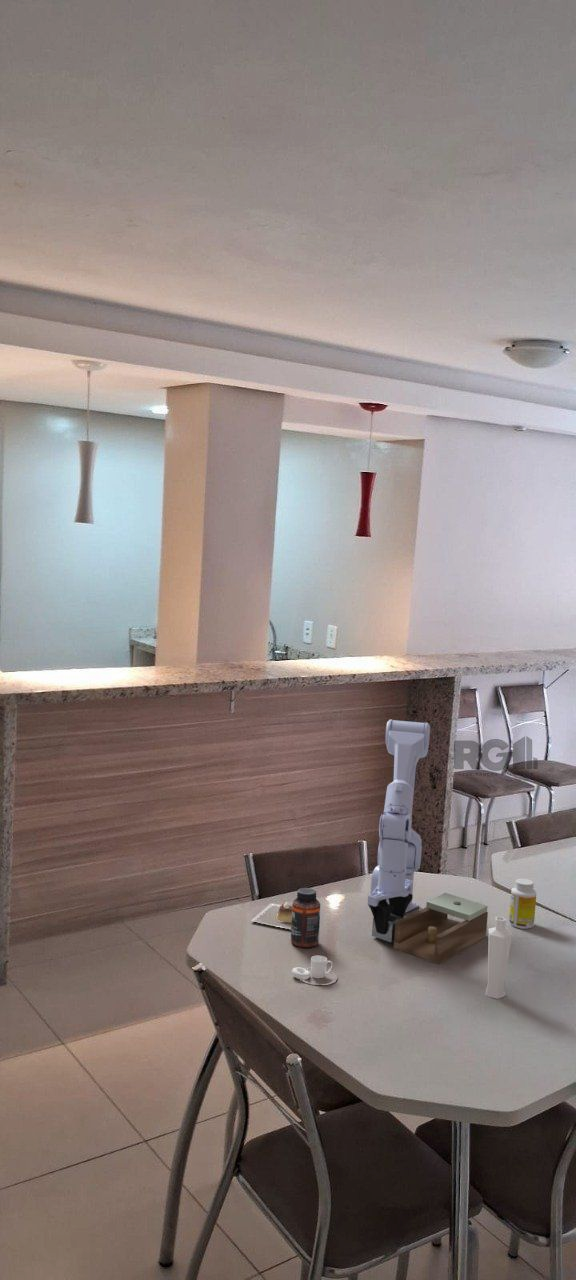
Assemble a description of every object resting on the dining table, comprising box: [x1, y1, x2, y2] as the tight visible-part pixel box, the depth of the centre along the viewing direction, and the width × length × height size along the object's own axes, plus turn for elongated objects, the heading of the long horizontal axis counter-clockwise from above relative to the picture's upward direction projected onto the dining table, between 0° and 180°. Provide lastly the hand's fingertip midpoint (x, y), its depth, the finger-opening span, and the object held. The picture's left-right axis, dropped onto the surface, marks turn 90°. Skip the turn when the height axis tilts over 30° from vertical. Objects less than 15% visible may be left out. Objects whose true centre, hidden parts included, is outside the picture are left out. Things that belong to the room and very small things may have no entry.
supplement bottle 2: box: [508, 878, 537, 930], centre depth 226 cm, size 6×6×10 cm
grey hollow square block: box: [371, 913, 404, 944], centre depth 215 cm, size 5×5×4 cm
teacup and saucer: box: [291, 954, 334, 981], centre depth 195 cm, size 9×8×4 cm
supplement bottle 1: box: [290, 887, 321, 948], centre depth 210 cm, size 6×6×11 cm
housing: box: [393, 907, 489, 965], centre depth 215 cm, size 11×20×6 cm, turn 141°
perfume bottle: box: [484, 916, 513, 1000], centre depth 191 cm, size 5×4×15 cm
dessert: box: [250, 901, 292, 931], centre depth 223 cm, size 12×12×5 cm
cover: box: [425, 892, 489, 921], centre depth 219 cm, size 11×8×2 cm
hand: (388, 929), depth 215 cm, fingers closed on grey hollow square block, 5 cm apart
